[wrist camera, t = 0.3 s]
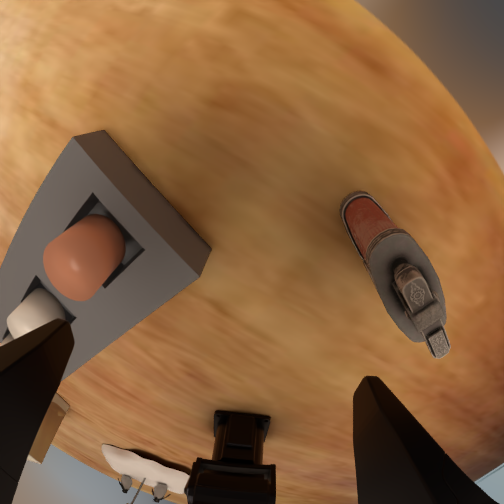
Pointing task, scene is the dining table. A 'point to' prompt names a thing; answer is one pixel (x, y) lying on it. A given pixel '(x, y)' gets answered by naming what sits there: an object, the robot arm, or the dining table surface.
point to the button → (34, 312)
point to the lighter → (398, 272)
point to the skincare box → (48, 429)
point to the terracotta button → (84, 256)
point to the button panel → (134, 232)
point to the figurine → (144, 472)
